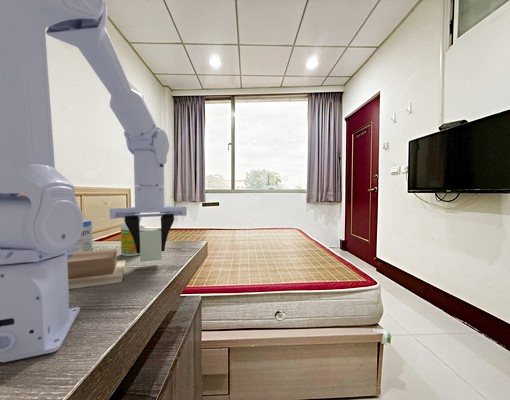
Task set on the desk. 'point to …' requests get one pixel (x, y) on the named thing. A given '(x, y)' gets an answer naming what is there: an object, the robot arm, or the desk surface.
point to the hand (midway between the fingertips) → (150, 251)
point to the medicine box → (83, 240)
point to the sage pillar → (150, 244)
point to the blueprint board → (99, 278)
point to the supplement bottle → (129, 240)
